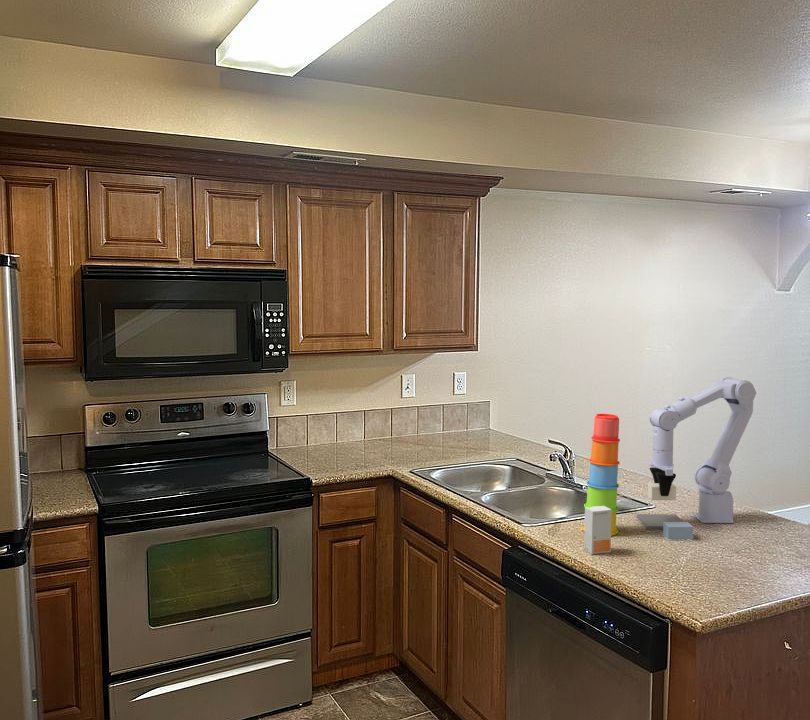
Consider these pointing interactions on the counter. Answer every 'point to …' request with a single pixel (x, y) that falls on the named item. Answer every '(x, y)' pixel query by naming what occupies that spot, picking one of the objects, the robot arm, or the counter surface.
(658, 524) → the baseplate
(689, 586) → the counter surface
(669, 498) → the cream brick
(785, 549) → the counter surface
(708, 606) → the counter surface
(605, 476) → the stacking cups
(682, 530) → the blue brick
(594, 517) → the skincare box
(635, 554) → the counter surface
